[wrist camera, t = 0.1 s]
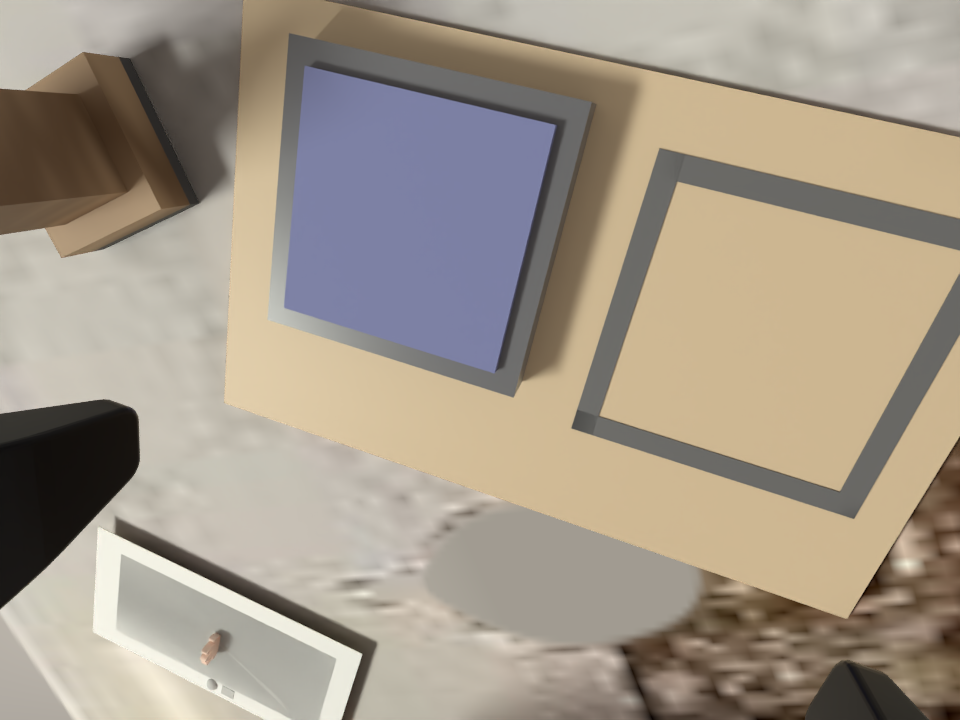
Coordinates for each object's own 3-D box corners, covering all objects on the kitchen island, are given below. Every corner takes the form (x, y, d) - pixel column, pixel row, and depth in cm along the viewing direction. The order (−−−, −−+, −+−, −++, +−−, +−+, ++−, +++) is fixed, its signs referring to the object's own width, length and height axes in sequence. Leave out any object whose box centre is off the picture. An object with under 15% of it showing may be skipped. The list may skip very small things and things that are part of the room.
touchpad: (115, 514, 32) (79, 539, 30) (372, 637, 30) (352, 672, 28) (108, 617, 35) (76, 646, 33) (340, 734, 33) (320, 772, 31)
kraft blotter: (845, 615, 22) (847, 619, 22) (227, 400, 26) (223, 403, 26) (1117, 172, 16) (1124, 172, 16) (247, -16, 20) (243, -18, 20)
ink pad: (522, 381, 22) (511, 401, 21) (289, 309, 24) (262, 322, 22) (596, 104, 18) (590, 101, 17) (314, 39, 20) (283, 31, 18)
